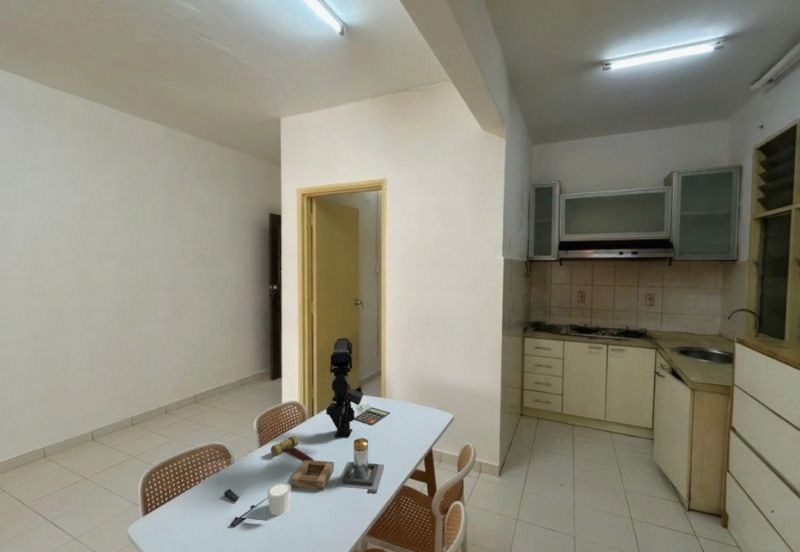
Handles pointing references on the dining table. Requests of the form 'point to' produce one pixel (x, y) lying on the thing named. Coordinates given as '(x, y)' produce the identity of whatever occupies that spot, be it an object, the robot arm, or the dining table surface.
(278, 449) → the gavel
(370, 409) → the calculator
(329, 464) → the socket block
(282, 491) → the white cylinder
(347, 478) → the tray
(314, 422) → the dining table surface
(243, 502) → the dining table surface
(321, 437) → the dining table surface
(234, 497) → the bracket
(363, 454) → the gold-topped cylinder
